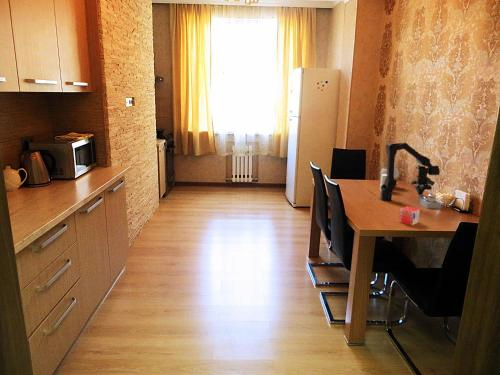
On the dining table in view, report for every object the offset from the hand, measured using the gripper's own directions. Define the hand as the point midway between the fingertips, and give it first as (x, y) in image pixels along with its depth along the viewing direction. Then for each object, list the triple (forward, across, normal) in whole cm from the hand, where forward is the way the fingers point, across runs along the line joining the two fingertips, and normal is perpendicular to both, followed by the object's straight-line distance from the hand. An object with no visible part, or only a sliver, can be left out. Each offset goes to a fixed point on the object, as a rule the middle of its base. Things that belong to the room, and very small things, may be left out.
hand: (419, 196), depth 256 cm
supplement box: (+3, +28, +14) cm, 31 cm away
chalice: (+3, +43, +6) cm, 44 cm away
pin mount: (+2, -6, 0) cm, 7 cm away
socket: (+3, -15, 0) cm, 15 cm away
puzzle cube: (+3, -50, +29) cm, 58 cm away
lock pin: (+1, -7, 0) cm, 7 cm away
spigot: (+2, -16, 0) cm, 16 cm away
